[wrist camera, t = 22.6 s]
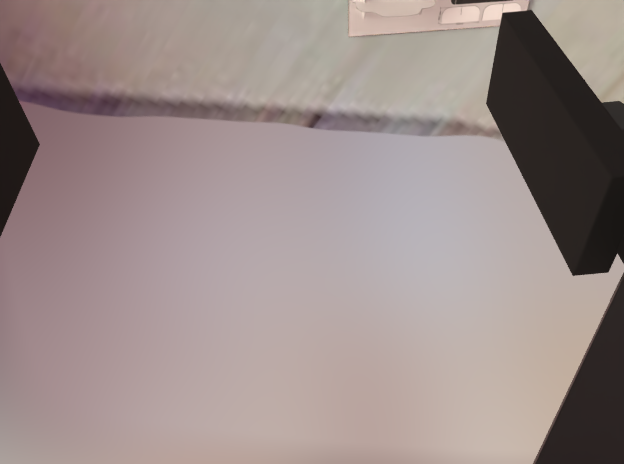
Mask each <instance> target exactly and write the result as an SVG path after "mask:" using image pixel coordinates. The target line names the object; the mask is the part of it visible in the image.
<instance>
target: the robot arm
mask: <svg viewBox="0 0 624 464" xmlns="http://www.w3.org/2000/svg"><path fill="white" fill-rule="evenodd" d="M486 104H487V106H488V108H489V110H490V112H491V114H492V116H493V118H494V120H495V122H496V124H497V126H498V128H499V130H500V132H501V134H502V136H503V138H504V140H505V142H506V144H507V146H508V148H509V150H510V152H511V154H512V156H513V158H514V160H515V161H516V164H517V166H518V168H519V169H520V172H521V173H522V176H523V178H524V179H525V182H526V183H527V186H528V187H529V189H530V192H531V194H532V196H533V197H534V200H535V201H536V204H537V206H538V207H539V209H540V212H541V214H542V215H543V217H544V219H545V221H546V223H547V225H548V227H549V229H550V231H551V233H552V235H553V237H554V239H555V241H556V243H557V245H558V247H559V249H560V251H561V253H562V255H563V257H564V259H565V261H566V263H567V265H568V267H569V269H570V271H571V273H572V275H573V276H575V275H585V274H596V273H607V272H609V270H610V268H611V265H612V263H613V261H614V259H615V257H616V255H617V253H618V255H619V256H620V258H621V260H622V262H623V263H624V104H623V103H622V102H620V101H614V102H604V103H601V102H600V100H599V99H598V98H597V96H596V95H595V94H594V92H593V91H592V90H591V88H590V87H589V86H588V84H587V83H586V82H585V80H584V79H583V78H582V76H581V75H580V74H579V72H578V71H577V70H576V68H575V67H574V66H573V64H572V63H571V62H570V60H569V59H568V58H567V56H566V55H565V54H564V52H563V51H562V50H561V49H560V47H559V46H558V45H557V43H556V42H555V41H554V39H553V38H552V37H551V35H550V34H549V33H548V31H547V30H546V29H545V27H544V26H543V25H542V23H541V22H540V21H539V19H538V18H537V17H536V15H535V14H534V13H533V11H532V10H528V11H516V12H505V13H502V17H501V23H500V29H499V34H498V40H497V46H496V51H495V57H494V63H493V68H492V74H491V79H490V85H489V91H488V96H487V102H486ZM39 145H40V144H39V142H38V140H37V138H36V136H35V134H34V132H33V130H32V127H31V125H30V123H29V121H28V119H27V117H26V115H25V113H24V111H23V109H22V107H21V105H20V103H19V101H18V99H17V96H16V94H15V92H14V90H13V88H12V86H11V84H10V82H9V80H8V78H7V76H6V74H5V72H4V70H3V68H2V66H1V64H0V236H1V234H2V232H3V229H4V227H5V225H6V222H7V220H8V217H9V215H10V213H11V211H12V208H13V206H14V203H15V201H16V199H17V196H18V194H19V191H20V189H21V187H22V185H23V182H24V180H25V177H26V175H27V173H28V171H29V168H30V166H31V164H32V161H33V159H34V156H35V154H36V152H37V149H38V147H39ZM533 464H624V273H623V276H622V277H621V279H620V282H619V284H618V286H617V288H616V290H615V292H614V294H613V296H612V298H611V301H610V303H609V305H608V307H607V309H606V311H605V313H604V315H603V317H602V320H601V322H600V324H599V326H598V328H597V330H596V332H595V334H594V336H593V339H592V341H591V343H590V345H589V347H588V349H587V351H586V353H585V355H584V358H583V359H582V362H581V364H580V366H579V368H578V370H577V372H576V374H575V376H574V378H573V381H572V383H571V385H570V387H569V389H568V391H567V393H566V395H565V397H564V400H563V402H562V404H561V406H560V408H559V410H558V412H557V414H556V416H555V418H554V421H553V423H552V425H551V427H550V429H549V431H548V434H547V435H546V438H545V440H544V442H543V444H542V446H541V448H540V450H539V452H538V454H537V456H536V459H535V461H534V463H533Z"/></svg>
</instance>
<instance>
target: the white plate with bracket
mask: <svg viewBox="0 0 624 464" xmlns="http://www.w3.org/2000/svg"><path fill="white" fill-rule="evenodd" d="M528 5H529V0H348V36H349V37H354V36H368V35H382V34H396V33H409V32H423V31H437V30H451V29H465V28H479V27H493V26H500V23H501V17H502V13H505V12H516V11H527V9H528Z"/></svg>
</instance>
